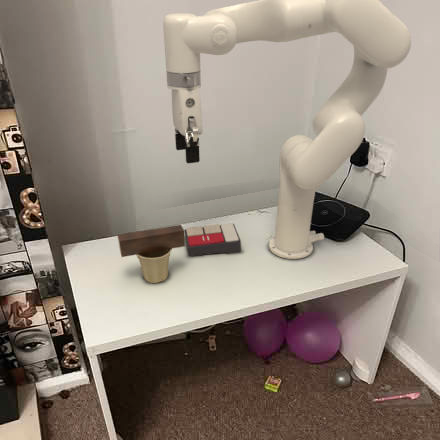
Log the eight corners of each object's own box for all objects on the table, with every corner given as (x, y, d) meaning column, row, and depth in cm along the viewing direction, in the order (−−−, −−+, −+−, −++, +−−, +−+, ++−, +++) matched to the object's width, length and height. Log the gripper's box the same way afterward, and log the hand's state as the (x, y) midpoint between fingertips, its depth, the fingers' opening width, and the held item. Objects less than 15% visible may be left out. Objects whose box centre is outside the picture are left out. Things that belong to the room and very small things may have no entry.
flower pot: (172, 265, 120) (170, 237, 114) (175, 285, 112) (173, 256, 107) (137, 268, 118) (134, 240, 113) (138, 289, 111) (134, 260, 106)
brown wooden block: (181, 240, 113) (181, 224, 110) (185, 246, 111) (184, 230, 108) (119, 250, 109) (117, 234, 106) (121, 257, 107) (119, 240, 104)
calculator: (184, 226, 130) (233, 220, 131) (185, 239, 132) (234, 233, 133) (187, 245, 121) (240, 238, 122) (189, 258, 123) (241, 252, 125)
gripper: (211, 86, 91) (212, 166, 102) (189, 71, 105) (192, 143, 115) (176, 89, 90) (181, 170, 100) (159, 73, 103) (164, 146, 113)
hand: (187, 155), depth 107 cm, fingers open, 9 cm apart
